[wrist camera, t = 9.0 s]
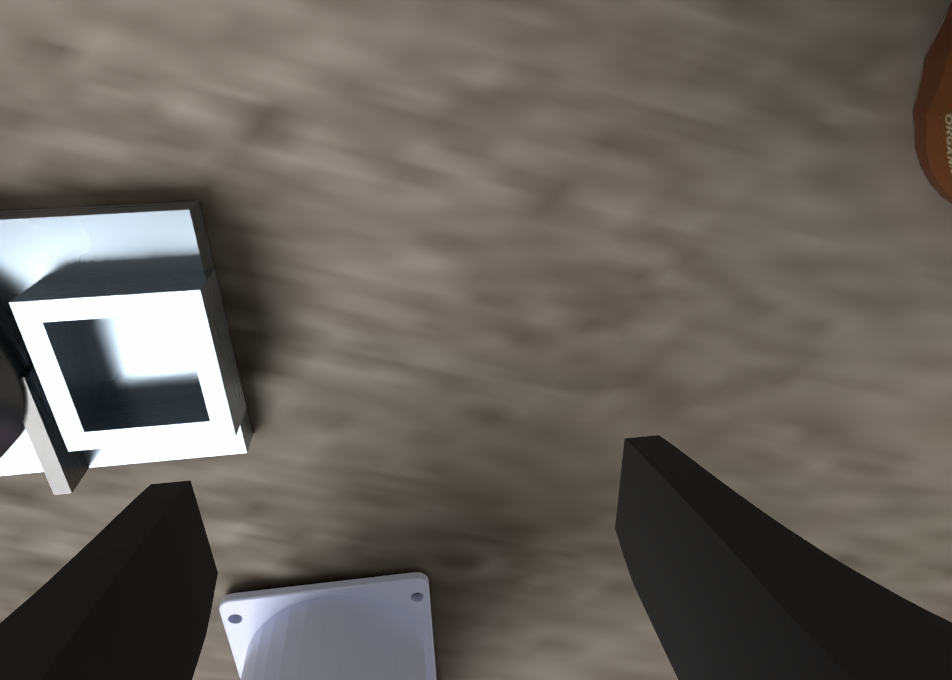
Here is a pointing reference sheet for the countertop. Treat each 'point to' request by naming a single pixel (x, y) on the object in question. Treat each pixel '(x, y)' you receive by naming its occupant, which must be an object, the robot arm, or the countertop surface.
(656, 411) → the countertop surface
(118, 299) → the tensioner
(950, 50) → the food container
